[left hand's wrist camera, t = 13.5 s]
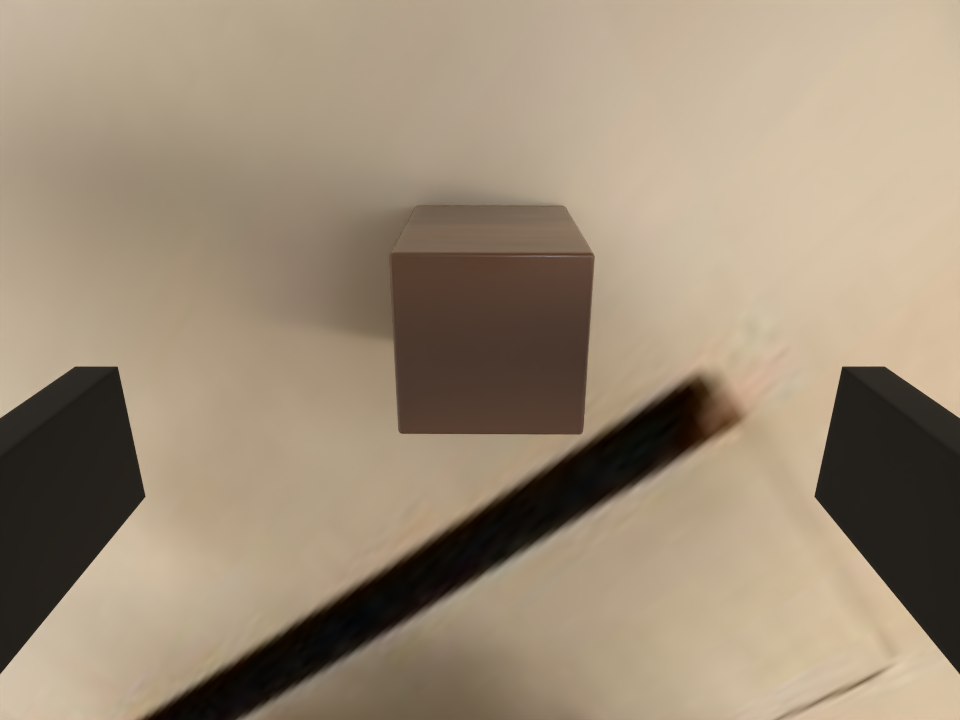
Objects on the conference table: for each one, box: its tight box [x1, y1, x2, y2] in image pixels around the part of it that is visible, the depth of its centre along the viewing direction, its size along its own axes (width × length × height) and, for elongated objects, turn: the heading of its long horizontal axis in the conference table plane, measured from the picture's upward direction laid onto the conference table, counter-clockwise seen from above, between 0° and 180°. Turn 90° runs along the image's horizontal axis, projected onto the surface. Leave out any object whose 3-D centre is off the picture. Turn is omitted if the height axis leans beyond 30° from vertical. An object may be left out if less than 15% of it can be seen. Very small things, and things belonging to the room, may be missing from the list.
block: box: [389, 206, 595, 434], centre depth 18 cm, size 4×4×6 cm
